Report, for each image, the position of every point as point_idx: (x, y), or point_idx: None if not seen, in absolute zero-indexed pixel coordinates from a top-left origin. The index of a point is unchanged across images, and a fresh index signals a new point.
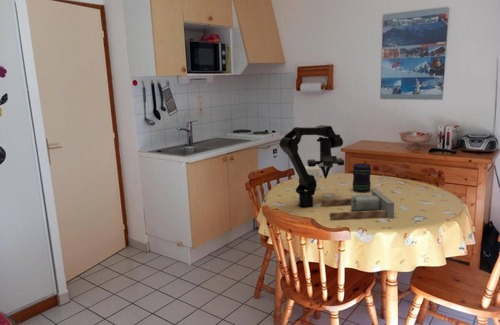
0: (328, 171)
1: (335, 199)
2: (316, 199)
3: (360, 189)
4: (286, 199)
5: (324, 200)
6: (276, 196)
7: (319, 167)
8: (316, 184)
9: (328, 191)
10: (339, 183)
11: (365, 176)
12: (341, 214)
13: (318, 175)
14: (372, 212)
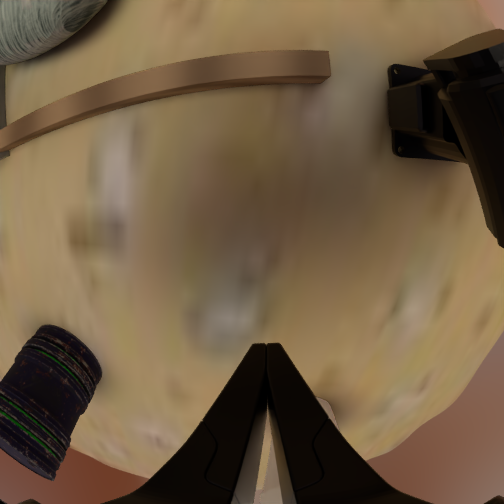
0: (195, 442)
1: (194, 80)
2: (331, 239)
3: (55, 340)
4: (487, 257)
5: (304, 59)
6: (498, 306)
7: (497, 498)
8: (461, 81)
9: (222, 377)
10: (168, 441)
11: (3, 381)
12: None
13: (275, 471)
14: None
